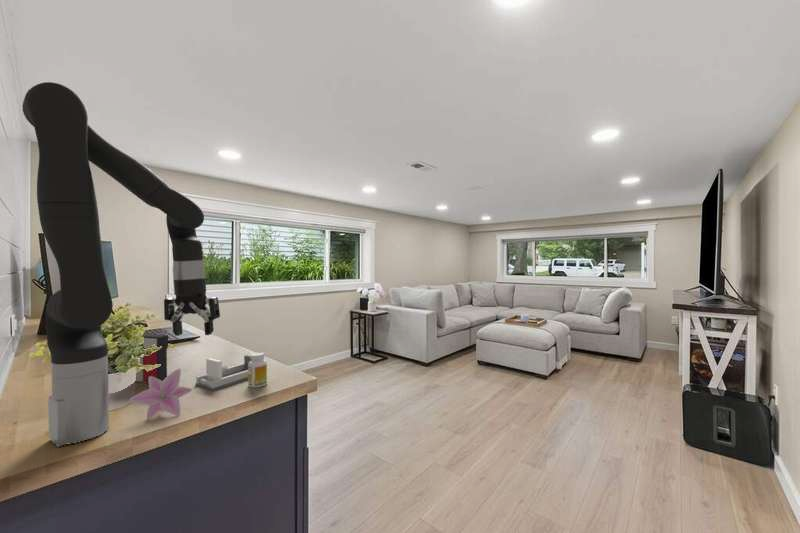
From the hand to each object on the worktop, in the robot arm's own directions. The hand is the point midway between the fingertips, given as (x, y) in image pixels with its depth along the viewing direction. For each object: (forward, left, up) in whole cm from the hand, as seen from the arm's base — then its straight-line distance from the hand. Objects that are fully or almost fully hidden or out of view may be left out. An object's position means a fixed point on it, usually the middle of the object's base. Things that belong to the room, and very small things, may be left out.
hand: (193, 334), depth 94 cm
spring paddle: (+11, +7, -18) cm, 22 cm away
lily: (-8, -1, -19) cm, 21 cm away
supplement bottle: (+17, -5, -19) cm, 26 cm away
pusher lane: (+15, +7, -19) cm, 25 cm away
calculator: (+1, +28, -19) cm, 34 cm away
